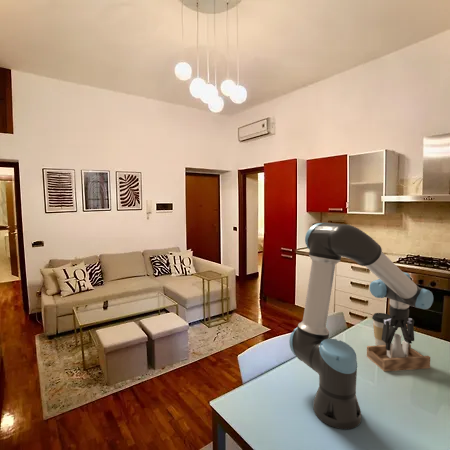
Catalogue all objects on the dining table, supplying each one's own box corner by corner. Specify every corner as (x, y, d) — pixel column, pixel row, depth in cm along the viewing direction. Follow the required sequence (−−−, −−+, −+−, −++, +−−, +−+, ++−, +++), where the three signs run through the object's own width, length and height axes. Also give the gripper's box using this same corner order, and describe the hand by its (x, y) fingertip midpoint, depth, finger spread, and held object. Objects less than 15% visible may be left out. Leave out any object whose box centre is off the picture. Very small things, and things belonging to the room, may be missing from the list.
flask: (408, 361, 125) (409, 339, 125) (390, 359, 127) (391, 337, 126) (402, 353, 132) (403, 332, 132) (385, 351, 134) (386, 330, 133)
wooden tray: (384, 371, 122) (384, 360, 122) (366, 356, 134) (367, 346, 134) (429, 368, 124) (430, 357, 124) (408, 353, 137) (409, 343, 136)
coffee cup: (393, 343, 147) (394, 314, 146) (392, 351, 139) (394, 321, 138) (372, 338, 152) (373, 311, 152) (370, 346, 144) (371, 317, 143)
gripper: (384, 310, 123) (382, 362, 124) (426, 308, 125) (423, 359, 127) (373, 304, 130) (371, 353, 132) (413, 302, 133) (411, 350, 134)
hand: (397, 356), depth 129 cm, fingers closed on flask, 7 cm apart
